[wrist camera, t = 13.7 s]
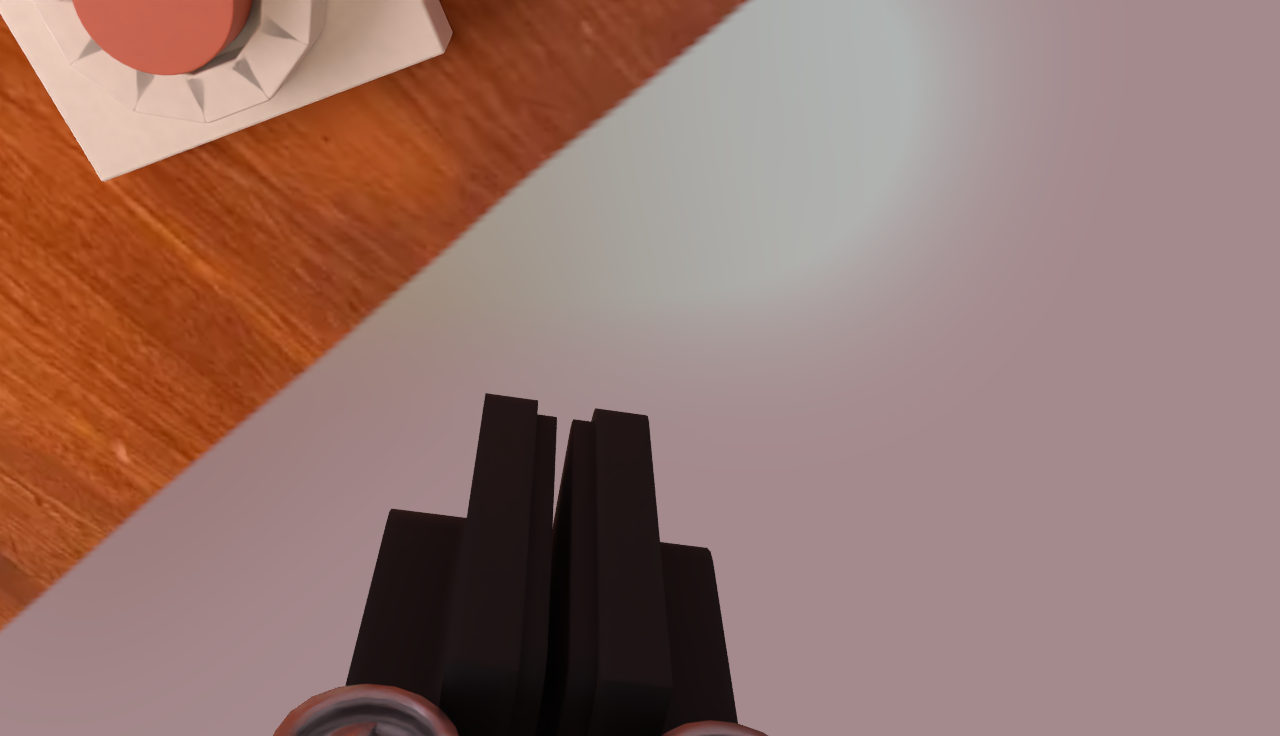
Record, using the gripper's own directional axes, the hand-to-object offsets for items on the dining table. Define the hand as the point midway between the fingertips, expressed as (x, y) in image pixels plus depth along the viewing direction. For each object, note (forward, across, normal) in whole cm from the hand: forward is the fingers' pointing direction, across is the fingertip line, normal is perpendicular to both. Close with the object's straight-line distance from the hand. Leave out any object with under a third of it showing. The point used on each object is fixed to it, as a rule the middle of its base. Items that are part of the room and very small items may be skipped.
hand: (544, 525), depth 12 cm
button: (+19, +9, 0) cm, 22 cm away
